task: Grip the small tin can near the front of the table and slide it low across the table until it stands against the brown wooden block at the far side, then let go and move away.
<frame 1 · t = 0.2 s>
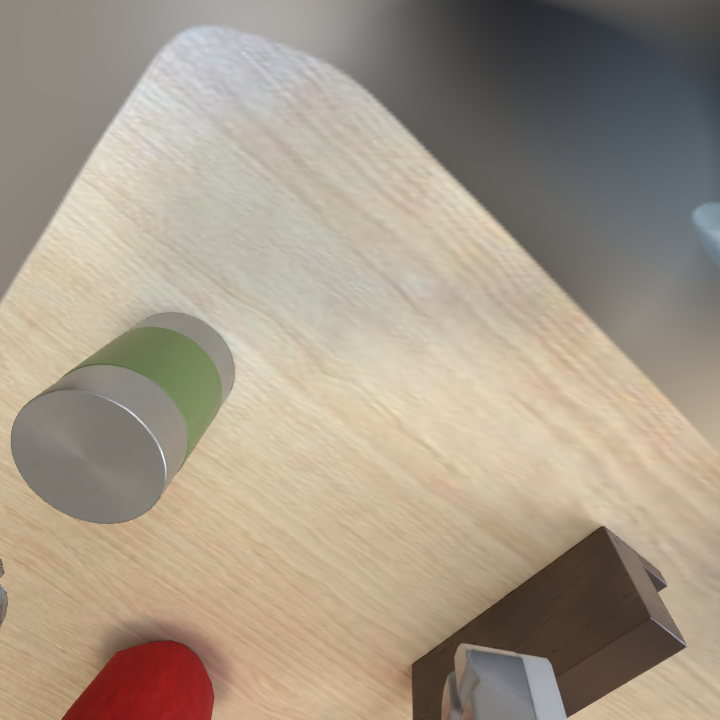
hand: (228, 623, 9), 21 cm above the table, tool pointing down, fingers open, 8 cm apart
can: (179, 365, 31), on the table
apple: (170, 662, 42), on the table
brown wooden block: (514, 612, 37), on the table
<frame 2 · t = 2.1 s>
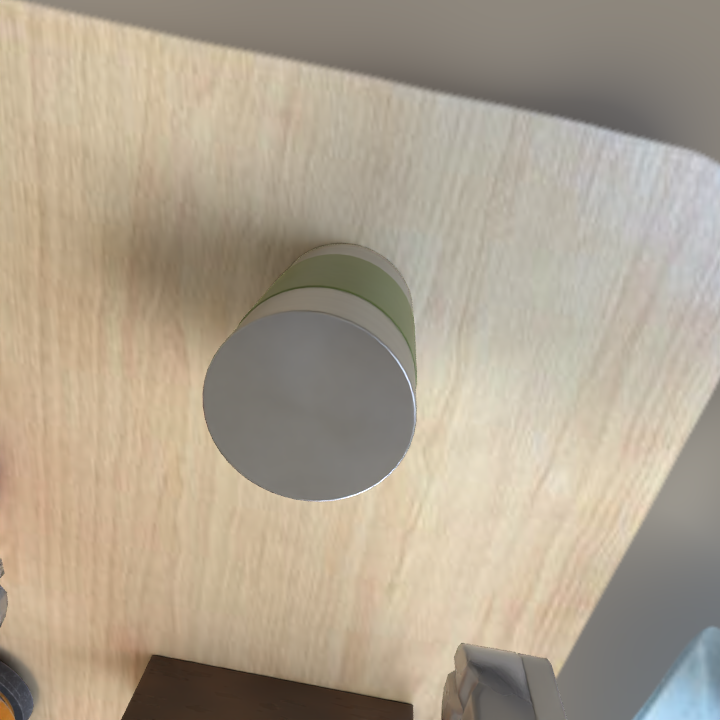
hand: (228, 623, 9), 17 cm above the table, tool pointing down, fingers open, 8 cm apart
can: (343, 312, 25), on the table
brown wooden block: (280, 693, 37), on the table
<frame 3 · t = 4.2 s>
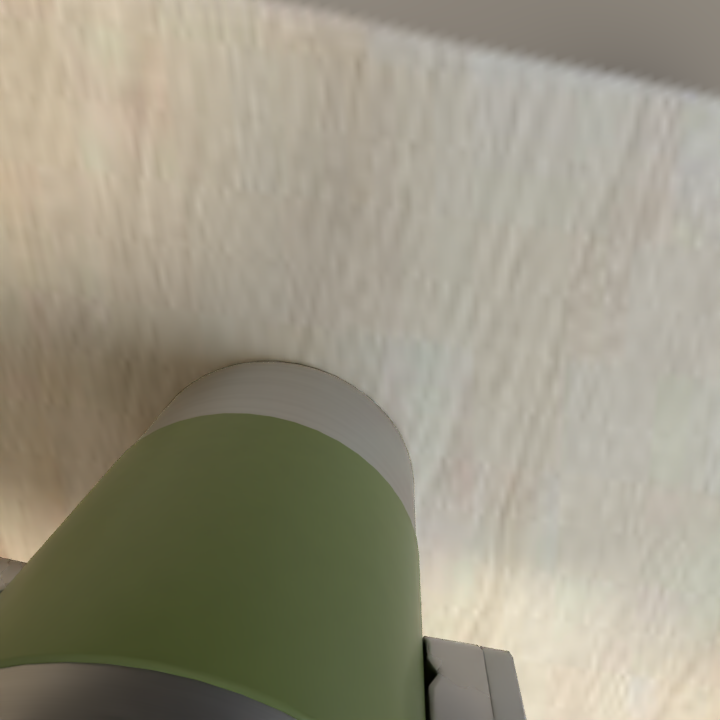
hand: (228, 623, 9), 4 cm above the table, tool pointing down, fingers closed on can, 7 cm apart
can: (280, 481, 13), on the table, touching gripper
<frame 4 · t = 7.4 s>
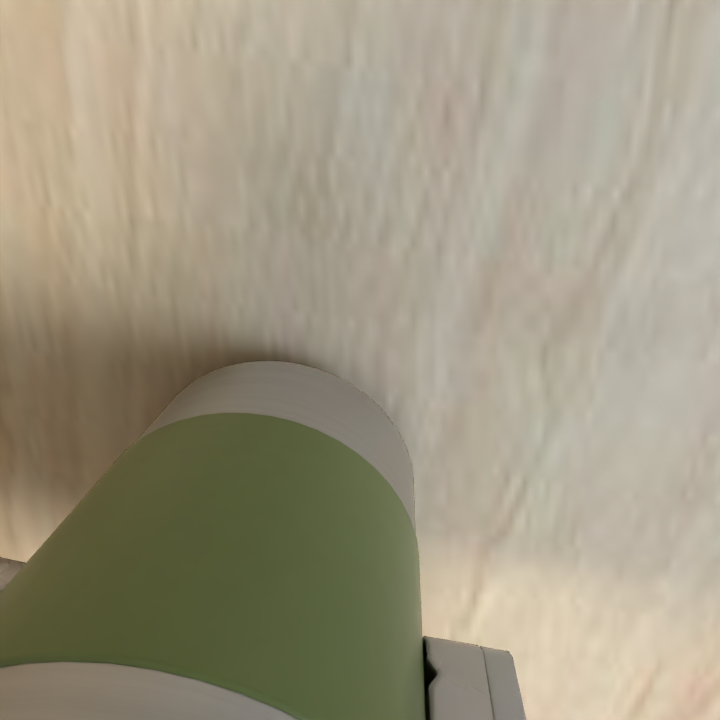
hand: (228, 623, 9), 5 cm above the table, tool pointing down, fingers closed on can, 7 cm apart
can: (280, 481, 13), point 1 cm above the table, touching gripper
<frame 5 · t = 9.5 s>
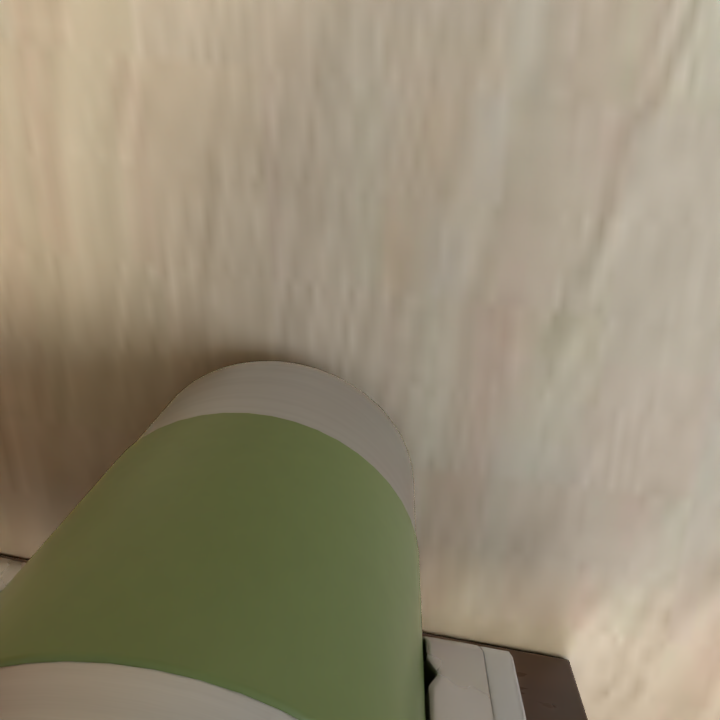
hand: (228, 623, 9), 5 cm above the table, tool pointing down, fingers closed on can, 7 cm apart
can: (280, 481, 13), point 1 cm above the table, touching gripper
brown wooden block: (266, 638, 16), on the table
when the fingers open (4 cm above the table, at t = 11.0 s): can stays where it is, on the table.
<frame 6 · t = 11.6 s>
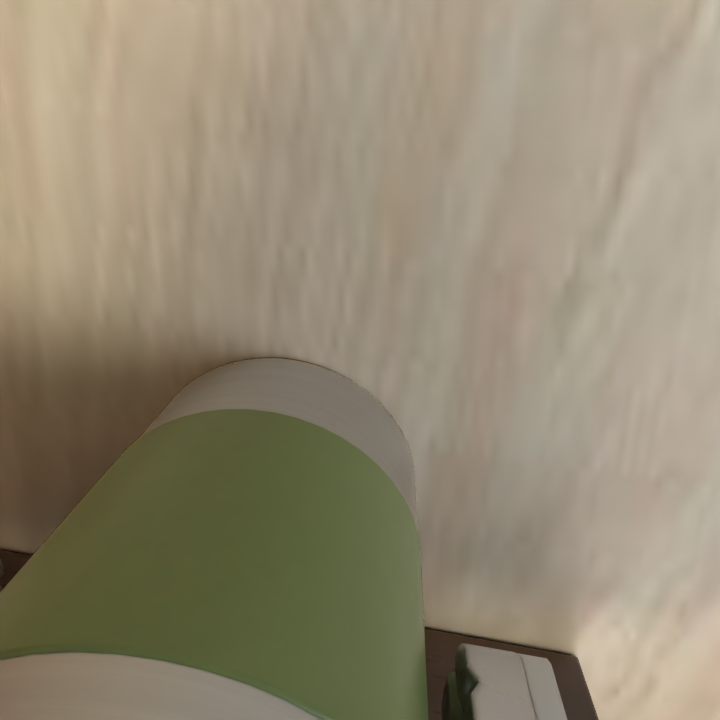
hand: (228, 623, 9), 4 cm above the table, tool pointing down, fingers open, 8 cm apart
can: (282, 478, 13), on the table
brown wooden block: (257, 634, 15), on the table
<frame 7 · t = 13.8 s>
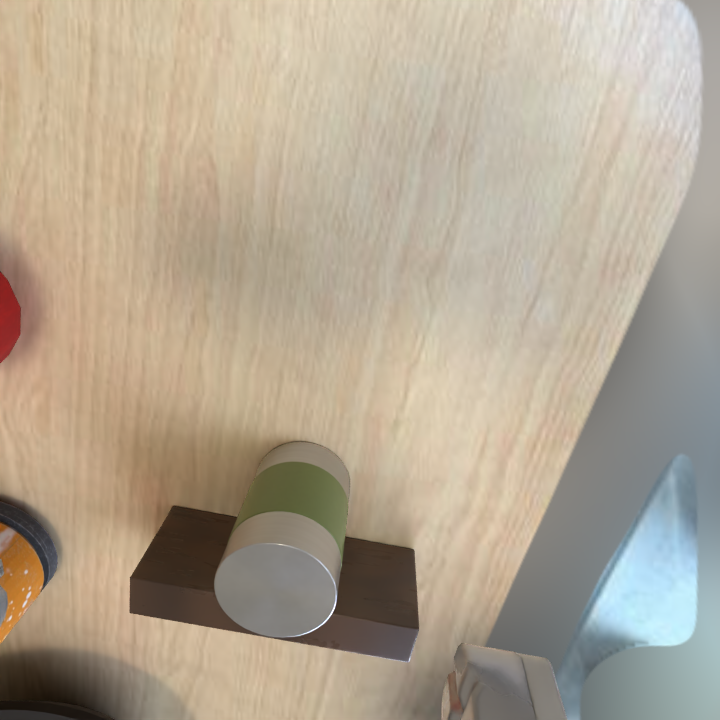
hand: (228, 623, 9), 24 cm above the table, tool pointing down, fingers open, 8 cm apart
can: (303, 481, 37), on the table
brown wooden block: (291, 543, 40), on the table
canister: (4, 549, 41), on the table
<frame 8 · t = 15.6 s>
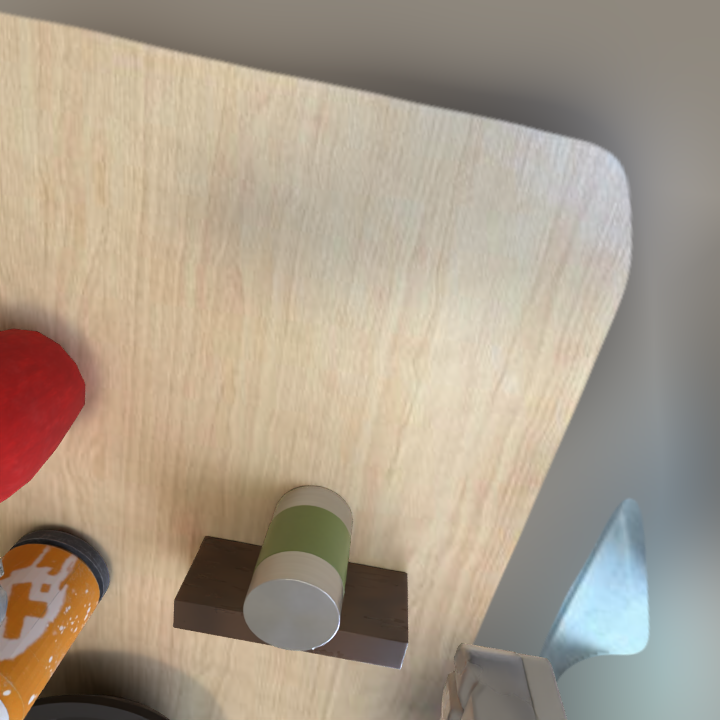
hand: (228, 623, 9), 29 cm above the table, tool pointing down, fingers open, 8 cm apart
can: (313, 517, 45), on the table
apple: (46, 371, 41), on the table
brown wooden block: (304, 567, 47), on the table
canister: (64, 569, 50), on the table
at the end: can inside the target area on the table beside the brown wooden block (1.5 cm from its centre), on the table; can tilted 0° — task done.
